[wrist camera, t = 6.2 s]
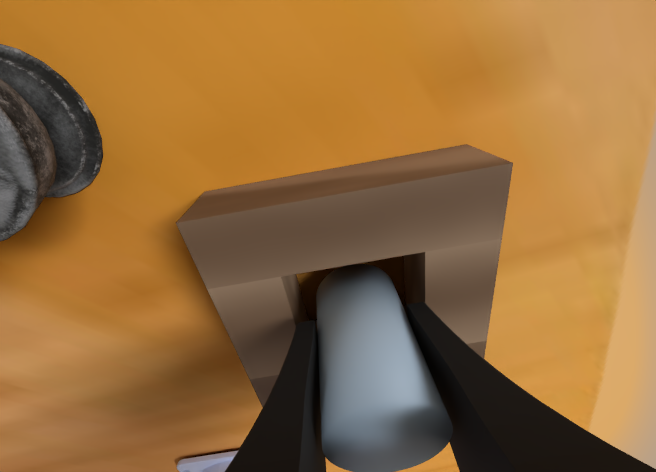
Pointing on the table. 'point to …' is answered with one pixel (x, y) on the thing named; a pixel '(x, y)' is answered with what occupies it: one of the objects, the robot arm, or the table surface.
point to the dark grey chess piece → (41, 138)
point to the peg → (374, 377)
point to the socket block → (351, 244)
